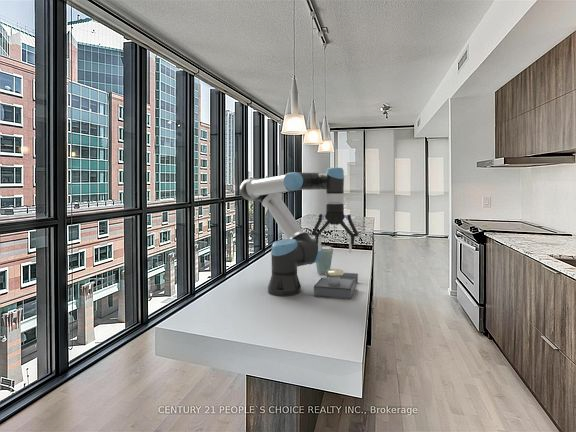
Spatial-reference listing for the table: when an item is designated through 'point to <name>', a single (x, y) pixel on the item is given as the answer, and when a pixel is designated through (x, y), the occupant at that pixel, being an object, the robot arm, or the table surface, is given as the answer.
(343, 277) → the tray
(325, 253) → the disposable coffee cup
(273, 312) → the table surface
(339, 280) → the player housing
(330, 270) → the disc
